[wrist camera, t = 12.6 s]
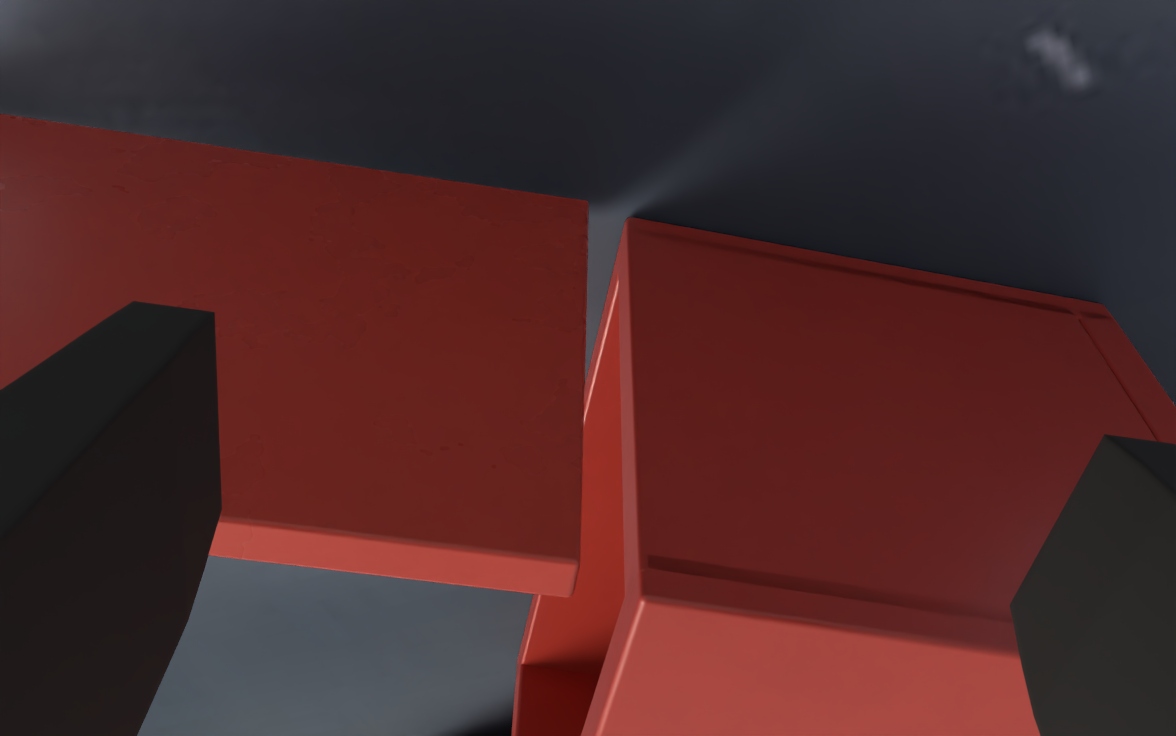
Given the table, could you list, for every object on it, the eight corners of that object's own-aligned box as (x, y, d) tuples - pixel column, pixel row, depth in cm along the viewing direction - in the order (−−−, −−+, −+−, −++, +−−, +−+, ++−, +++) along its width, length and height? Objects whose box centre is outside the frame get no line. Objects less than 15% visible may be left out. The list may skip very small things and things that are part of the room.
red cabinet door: (643, -110, 16) (675, 129, 9) (583, 229, 19) (572, 601, 12) (-209, -256, 15) (-921, -118, 8) (-122, 126, 18) (-576, 464, 11)
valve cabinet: (626, 213, 19) (640, 598, 12) (1105, 302, 20) (1390, 709, 13) (517, 659, 26) (483, 1077, 19) (879, 710, 27) (981, 1128, 20)
